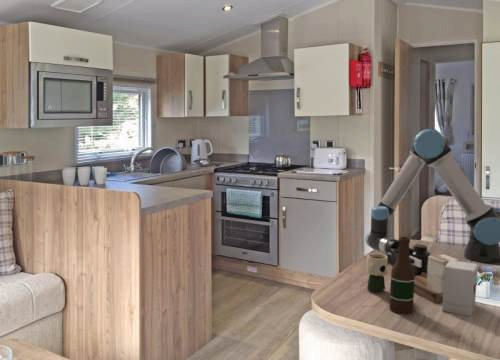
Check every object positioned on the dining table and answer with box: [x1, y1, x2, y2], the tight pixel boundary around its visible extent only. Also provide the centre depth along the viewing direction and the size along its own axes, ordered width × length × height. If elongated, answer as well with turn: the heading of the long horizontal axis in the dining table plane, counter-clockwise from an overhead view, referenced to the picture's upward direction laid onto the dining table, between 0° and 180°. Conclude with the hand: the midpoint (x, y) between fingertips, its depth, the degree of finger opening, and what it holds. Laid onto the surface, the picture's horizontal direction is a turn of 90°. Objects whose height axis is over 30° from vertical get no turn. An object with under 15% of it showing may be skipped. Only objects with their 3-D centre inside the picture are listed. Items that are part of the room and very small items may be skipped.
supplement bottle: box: [411, 244, 429, 276], centre depth 192 cm, size 7×7×12 cm
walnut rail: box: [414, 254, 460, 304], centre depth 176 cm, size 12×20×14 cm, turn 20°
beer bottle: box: [389, 236, 415, 315], centre depth 158 cm, size 8×8×24 cm
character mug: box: [366, 252, 389, 294], centre depth 175 cm, size 11×7×13 cm, turn 142°
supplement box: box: [441, 260, 479, 317], centre depth 159 cm, size 9×9×15 cm
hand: (428, 263), depth 188 cm, fingers closed on supplement bottle, 7 cm apart
